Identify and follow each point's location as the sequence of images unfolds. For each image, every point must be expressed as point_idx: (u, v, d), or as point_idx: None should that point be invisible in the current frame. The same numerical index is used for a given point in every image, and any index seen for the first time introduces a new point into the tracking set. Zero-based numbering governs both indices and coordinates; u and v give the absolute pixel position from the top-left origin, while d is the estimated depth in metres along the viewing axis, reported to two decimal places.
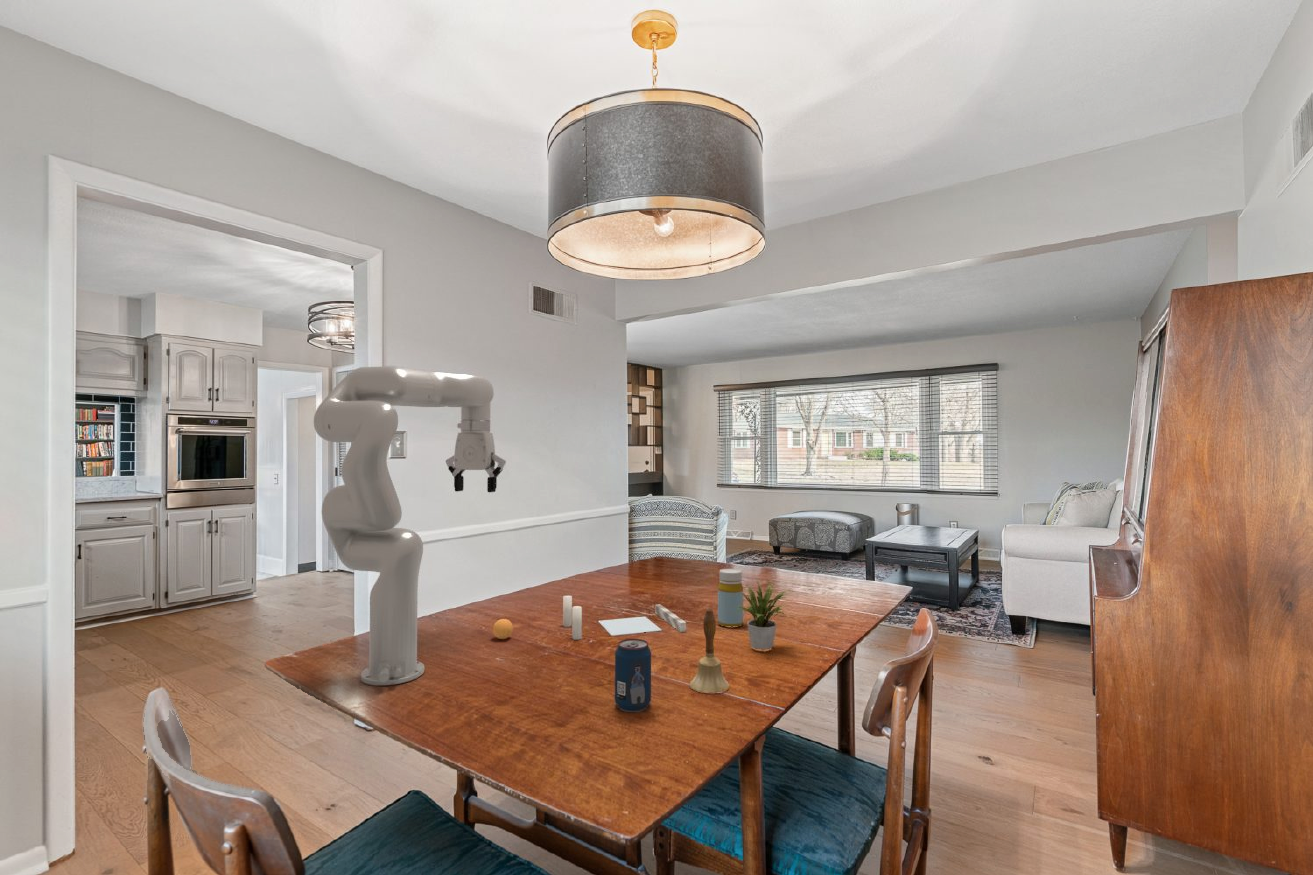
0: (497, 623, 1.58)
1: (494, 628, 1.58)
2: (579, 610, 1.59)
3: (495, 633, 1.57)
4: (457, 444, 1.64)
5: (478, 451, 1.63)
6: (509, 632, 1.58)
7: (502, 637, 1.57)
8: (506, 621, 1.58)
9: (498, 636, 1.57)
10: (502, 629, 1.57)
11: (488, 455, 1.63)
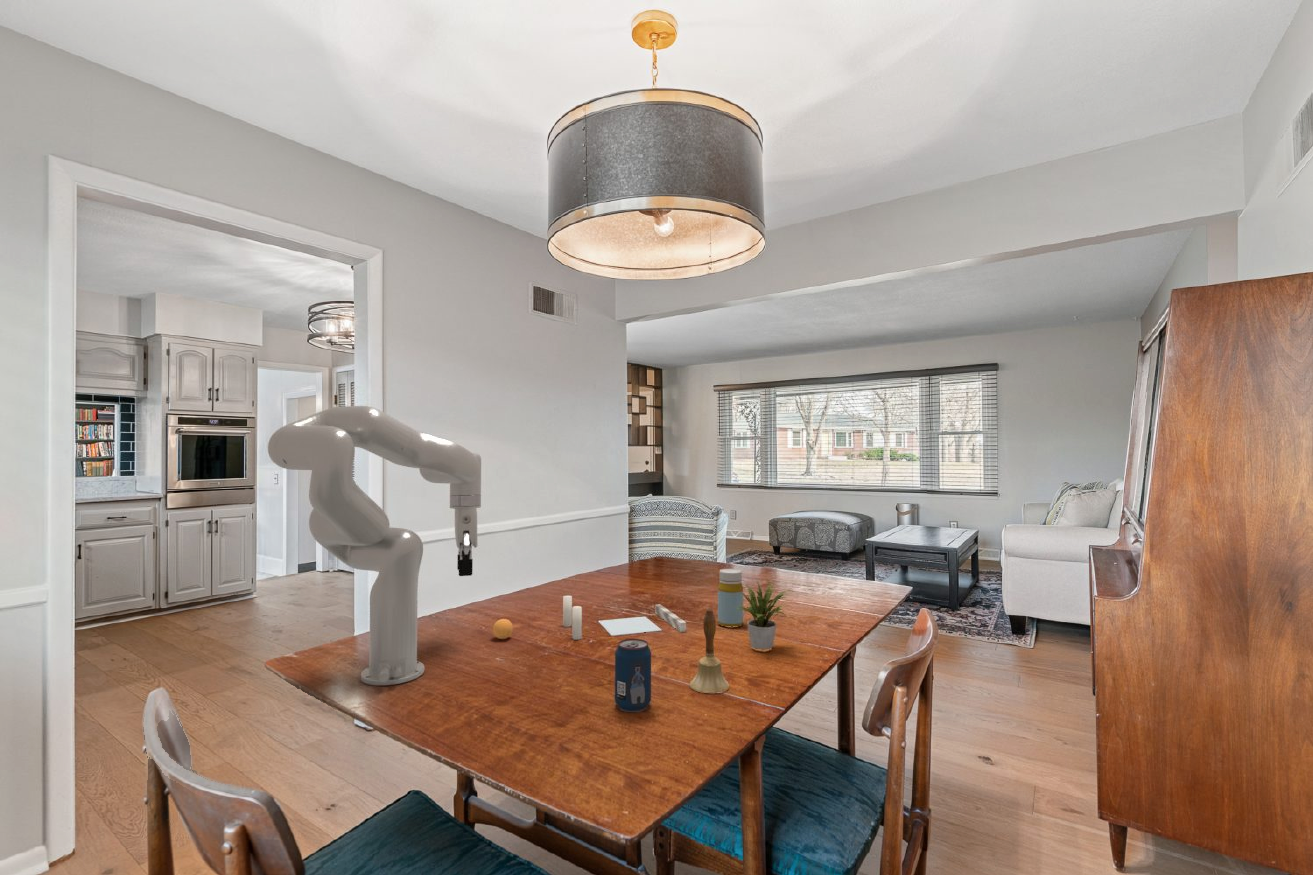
0: (497, 623, 1.58)
1: (494, 628, 1.58)
2: (579, 610, 1.59)
3: (495, 633, 1.57)
4: (476, 521, 1.54)
5: None
6: (509, 632, 1.58)
7: (502, 637, 1.57)
8: (506, 621, 1.58)
9: (498, 636, 1.57)
10: (502, 629, 1.57)
11: None
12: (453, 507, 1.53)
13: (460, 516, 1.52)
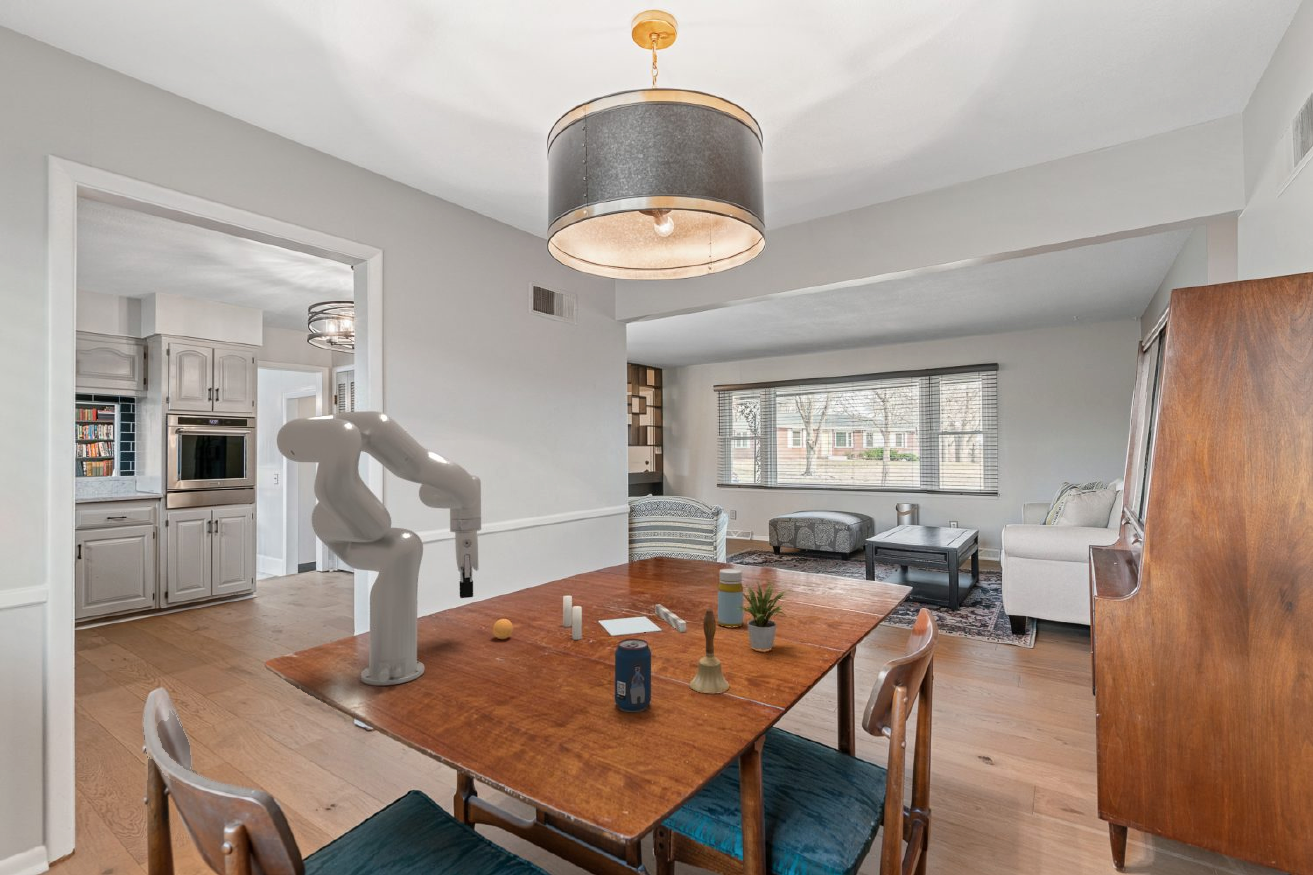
0: (497, 623, 1.58)
1: (494, 628, 1.58)
2: (579, 610, 1.59)
3: (495, 633, 1.57)
4: (477, 544, 1.54)
5: None
6: (509, 632, 1.58)
7: (502, 637, 1.57)
8: (506, 621, 1.58)
9: (498, 636, 1.57)
10: (502, 629, 1.57)
11: None
12: (453, 531, 1.53)
13: (461, 540, 1.52)
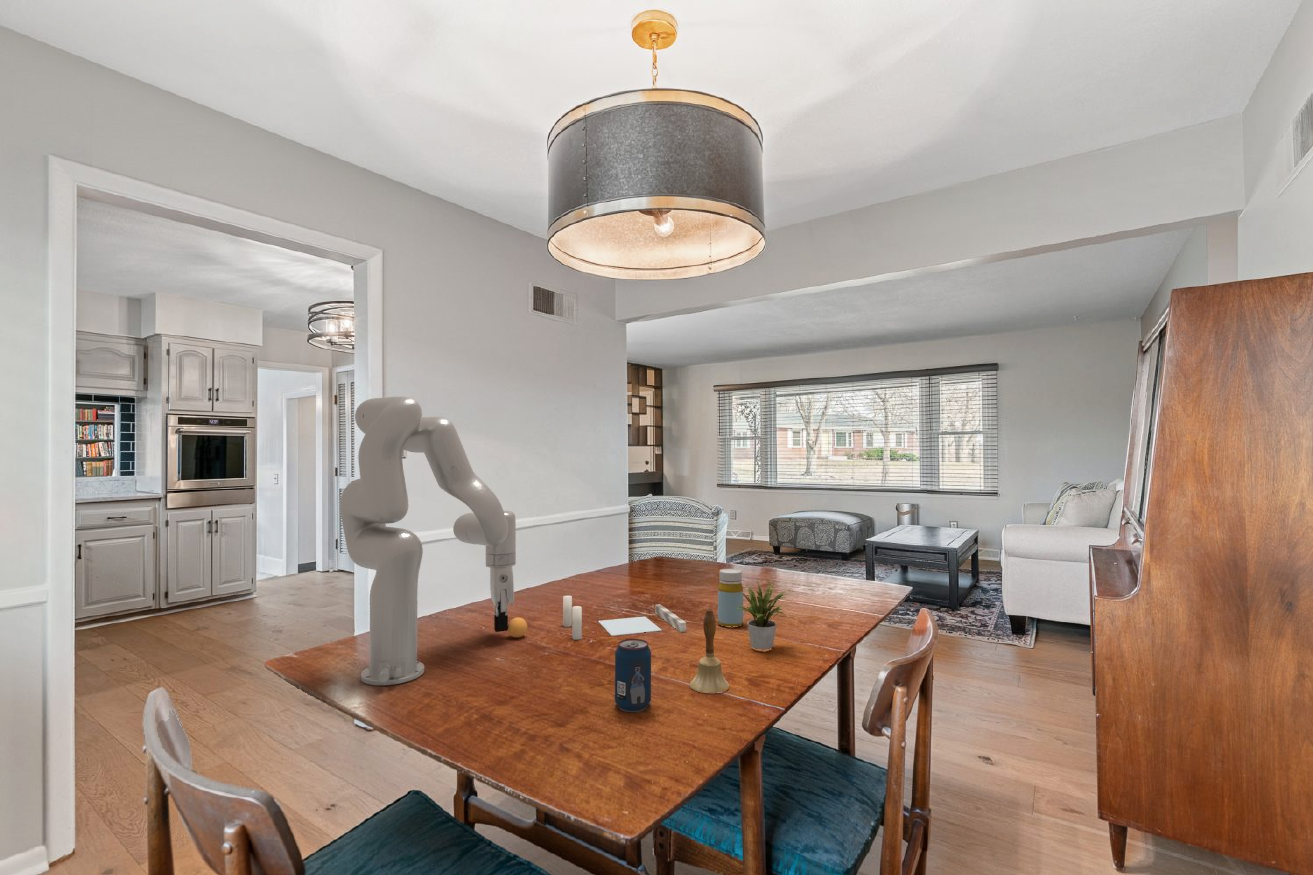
0: (522, 620, 1.60)
1: (516, 619, 1.60)
2: (579, 610, 1.59)
3: (513, 623, 1.59)
4: None
5: None
6: (518, 635, 1.59)
7: (512, 631, 1.58)
8: (526, 627, 1.60)
9: (511, 627, 1.58)
10: (520, 627, 1.58)
11: None
12: (490, 566, 1.56)
13: (497, 575, 1.55)
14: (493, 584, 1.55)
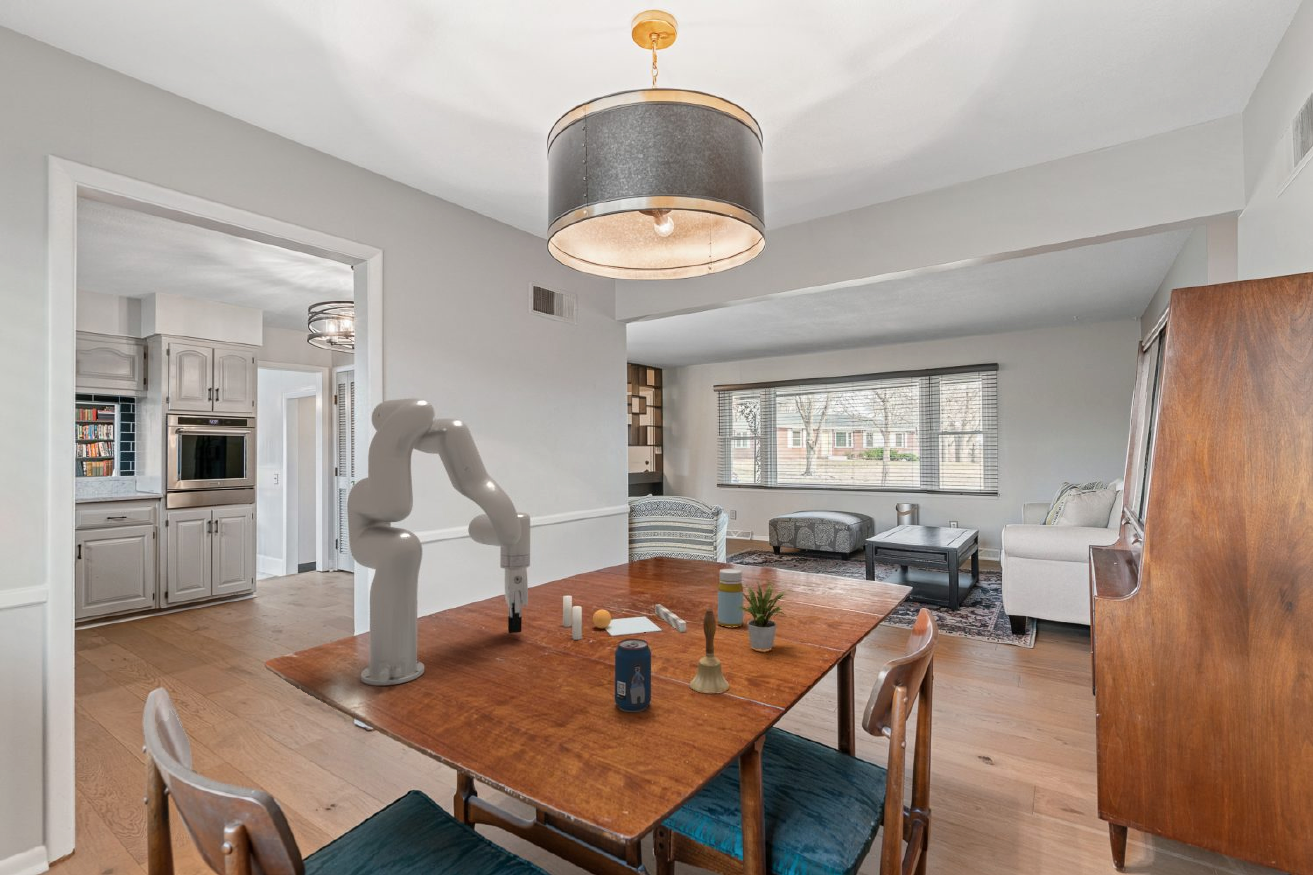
0: (601, 628, 1.68)
1: (606, 626, 1.68)
2: (579, 610, 1.59)
3: (609, 623, 1.68)
4: None
5: None
6: (602, 615, 1.67)
7: (609, 617, 1.68)
8: (595, 623, 1.67)
9: (610, 620, 1.68)
10: (603, 623, 1.66)
11: None
12: (504, 567, 1.57)
13: (512, 576, 1.56)
14: (507, 585, 1.56)
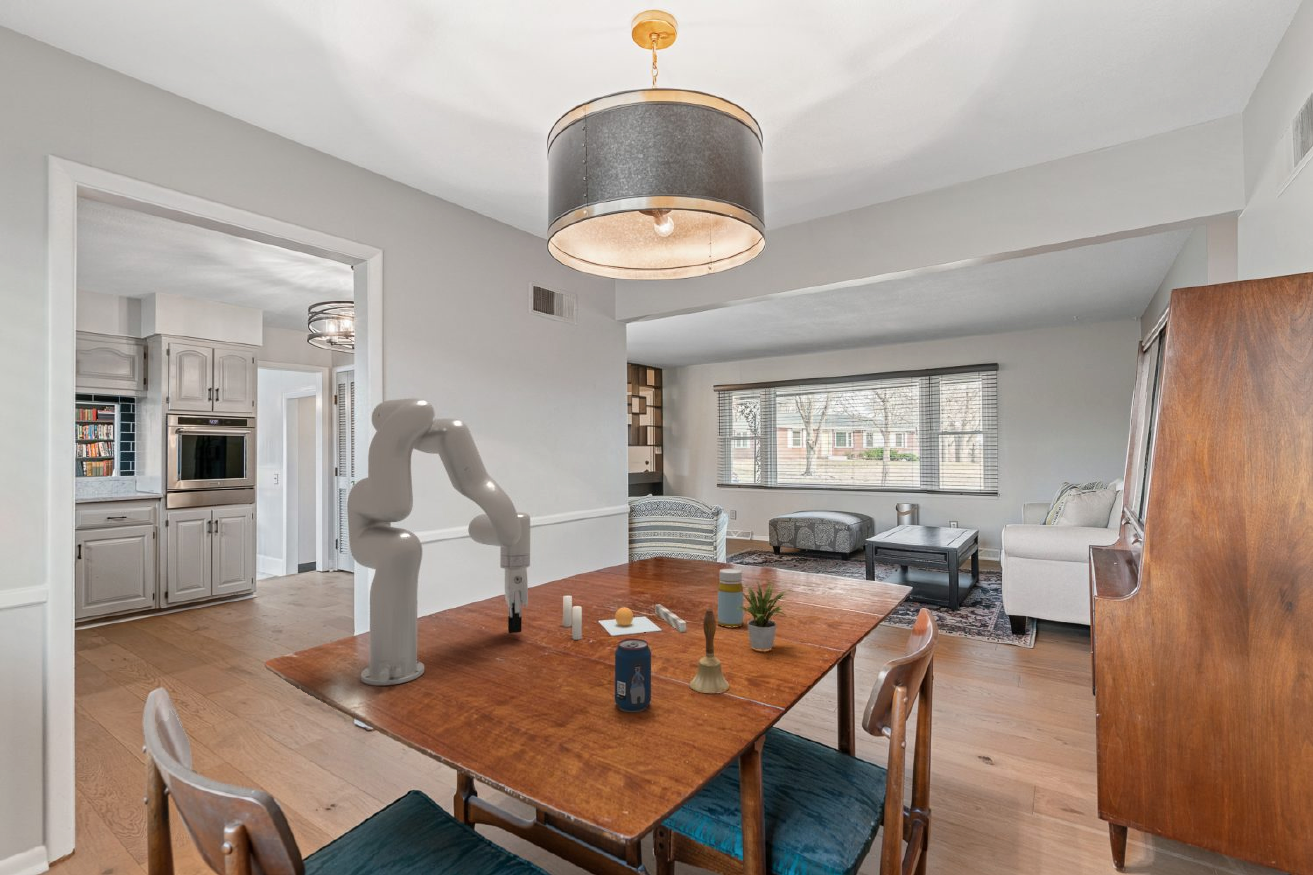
0: (621, 610, 1.70)
1: (618, 614, 1.70)
2: (579, 610, 1.59)
3: (618, 618, 1.69)
4: None
5: None
6: (630, 621, 1.70)
7: (623, 624, 1.69)
8: (629, 610, 1.71)
9: (620, 622, 1.69)
10: (626, 616, 1.69)
11: None
12: (504, 567, 1.57)
13: (512, 576, 1.56)
14: (507, 585, 1.56)
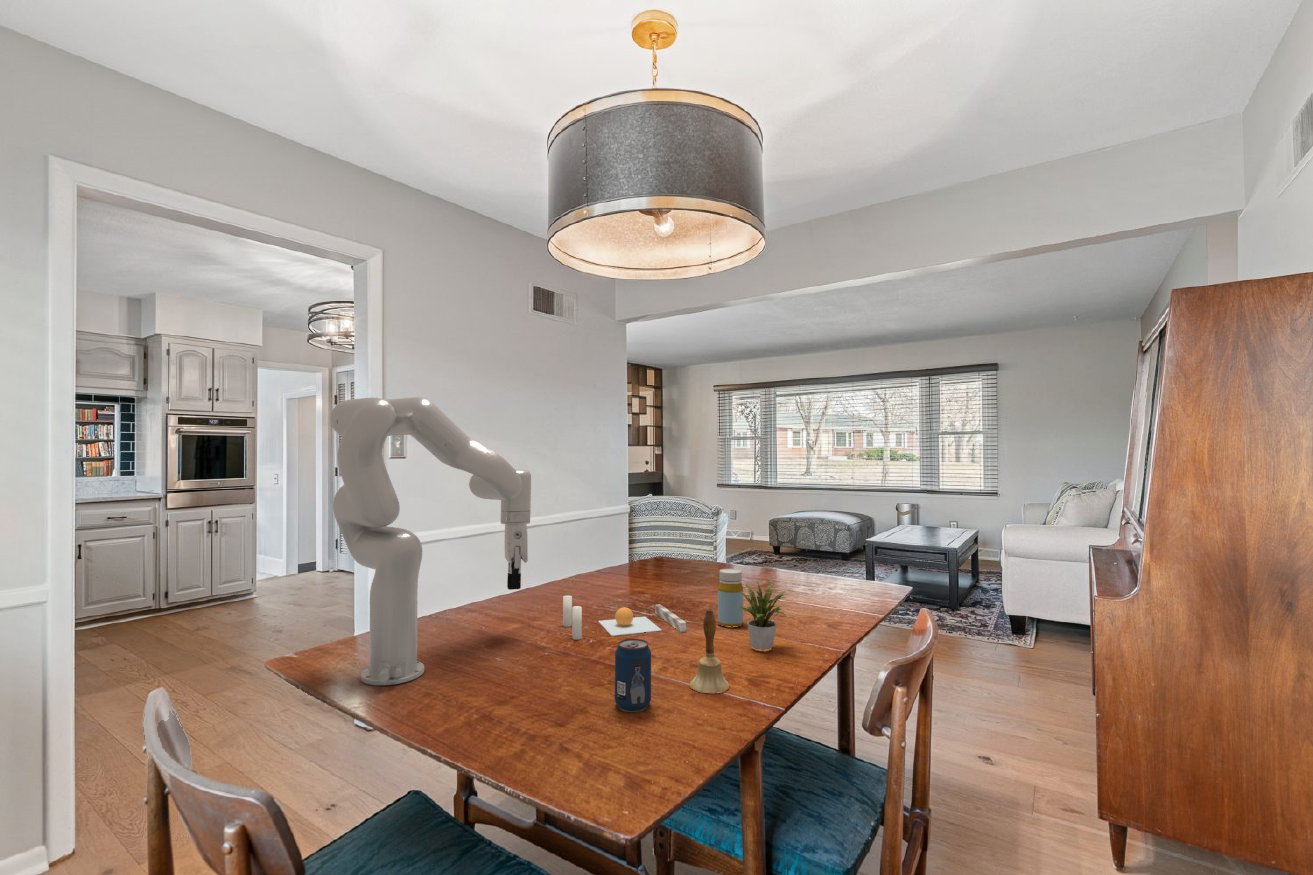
0: (621, 610, 1.70)
1: (618, 614, 1.70)
2: (579, 610, 1.59)
3: (618, 618, 1.69)
4: None
5: None
6: (630, 621, 1.70)
7: (623, 624, 1.69)
8: (629, 610, 1.71)
9: (620, 622, 1.69)
10: (626, 616, 1.69)
11: None
12: (504, 523, 1.57)
13: (512, 532, 1.56)
14: (507, 541, 1.56)
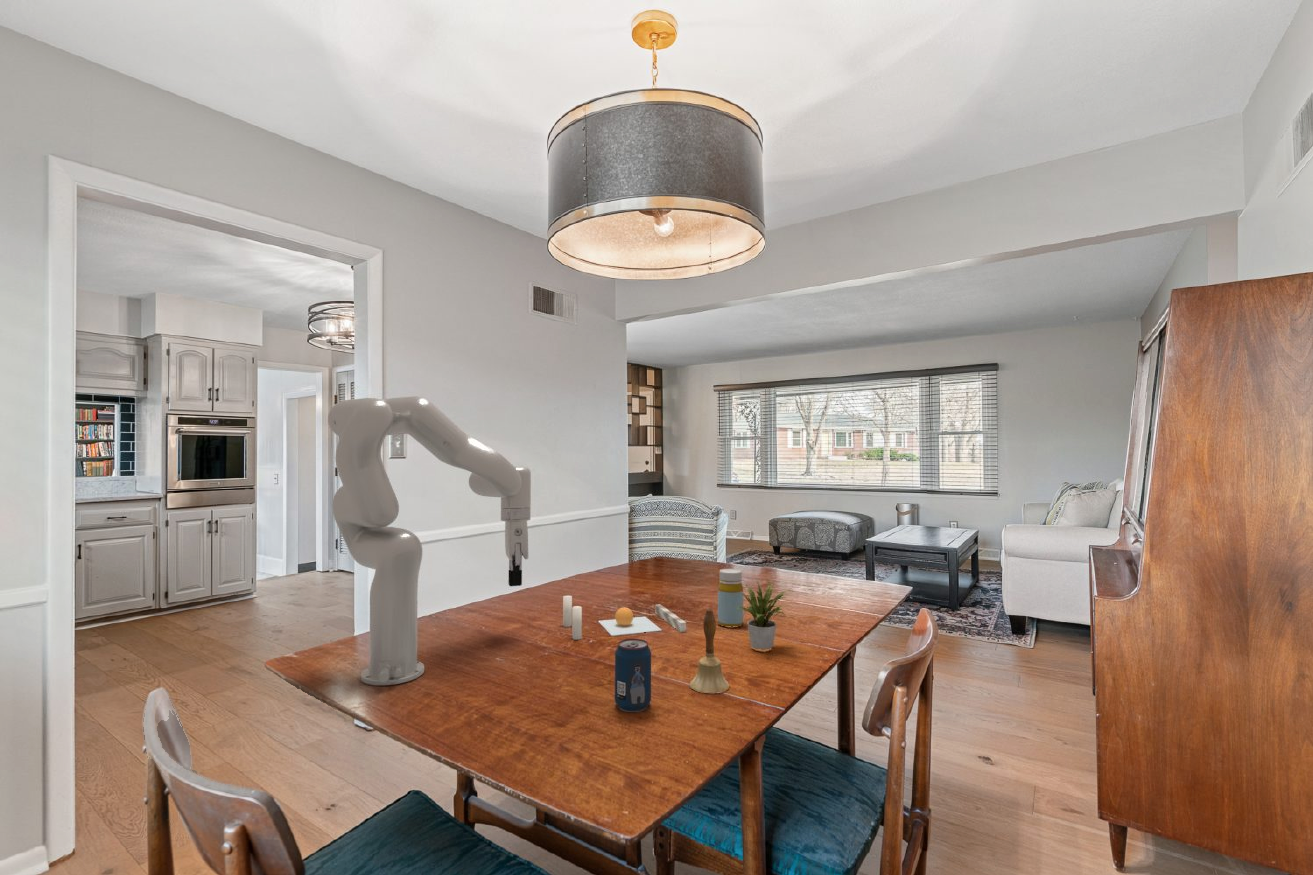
0: (621, 610, 1.70)
1: (618, 614, 1.70)
2: (579, 610, 1.59)
3: (618, 618, 1.69)
4: (527, 533, 1.58)
5: None
6: (630, 621, 1.70)
7: (623, 624, 1.69)
8: (629, 610, 1.71)
9: (620, 622, 1.69)
10: (626, 616, 1.69)
11: None
12: (505, 520, 1.57)
13: (512, 529, 1.56)
14: (508, 538, 1.57)
